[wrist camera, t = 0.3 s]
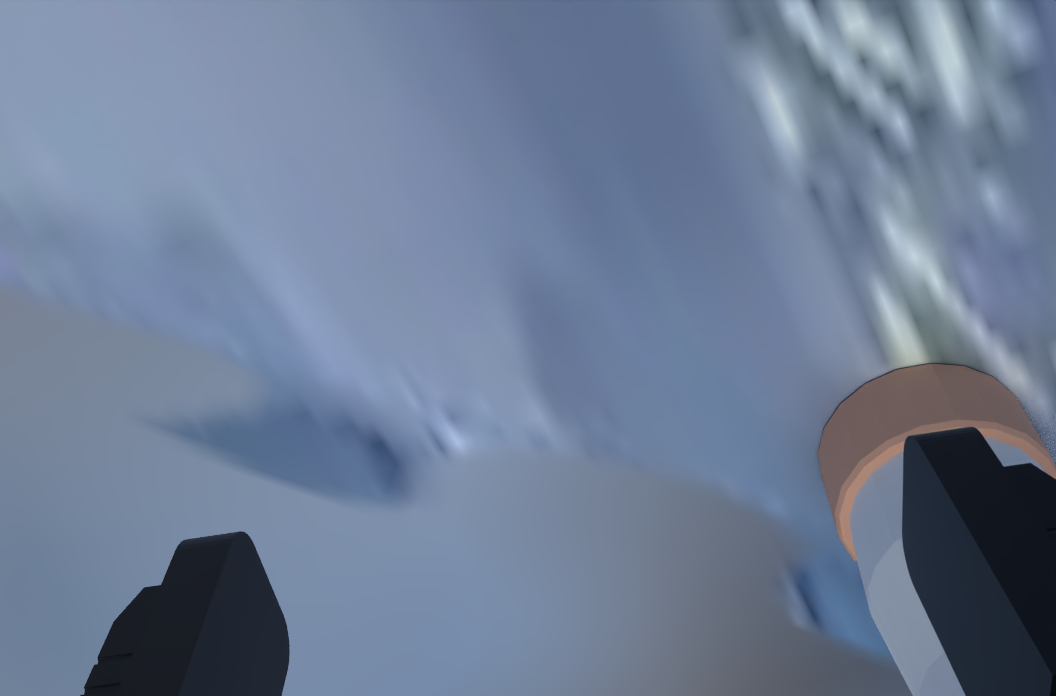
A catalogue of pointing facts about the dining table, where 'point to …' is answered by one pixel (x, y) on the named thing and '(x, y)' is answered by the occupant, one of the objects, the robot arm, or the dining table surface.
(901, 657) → the salt shaker
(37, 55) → the dining table surface
